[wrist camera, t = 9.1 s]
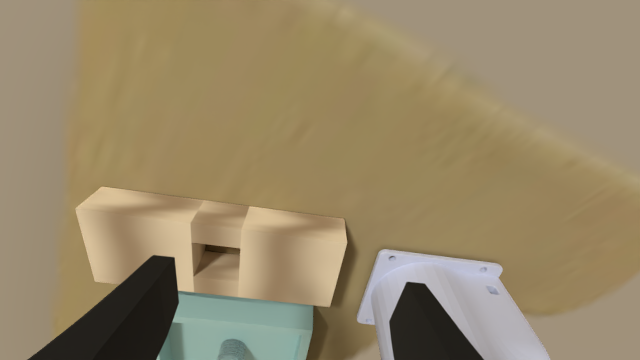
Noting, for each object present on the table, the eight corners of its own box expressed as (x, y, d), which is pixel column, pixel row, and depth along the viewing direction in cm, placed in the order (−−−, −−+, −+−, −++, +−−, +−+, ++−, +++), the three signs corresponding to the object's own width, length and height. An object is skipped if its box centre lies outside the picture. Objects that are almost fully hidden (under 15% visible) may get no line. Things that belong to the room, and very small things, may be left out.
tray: (313, 302, 25) (312, 330, 23) (294, 383, 31) (292, 412, 29) (158, 285, 24) (143, 313, 22) (170, 372, 30) (158, 401, 28)
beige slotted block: (344, 218, 21) (347, 243, 19) (328, 279, 24) (329, 307, 22) (101, 186, 20) (75, 208, 18) (116, 255, 23) (95, 281, 21)
